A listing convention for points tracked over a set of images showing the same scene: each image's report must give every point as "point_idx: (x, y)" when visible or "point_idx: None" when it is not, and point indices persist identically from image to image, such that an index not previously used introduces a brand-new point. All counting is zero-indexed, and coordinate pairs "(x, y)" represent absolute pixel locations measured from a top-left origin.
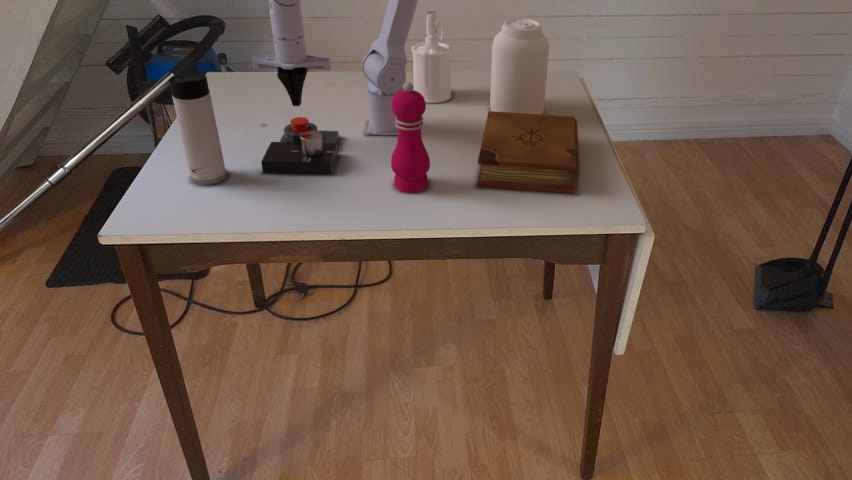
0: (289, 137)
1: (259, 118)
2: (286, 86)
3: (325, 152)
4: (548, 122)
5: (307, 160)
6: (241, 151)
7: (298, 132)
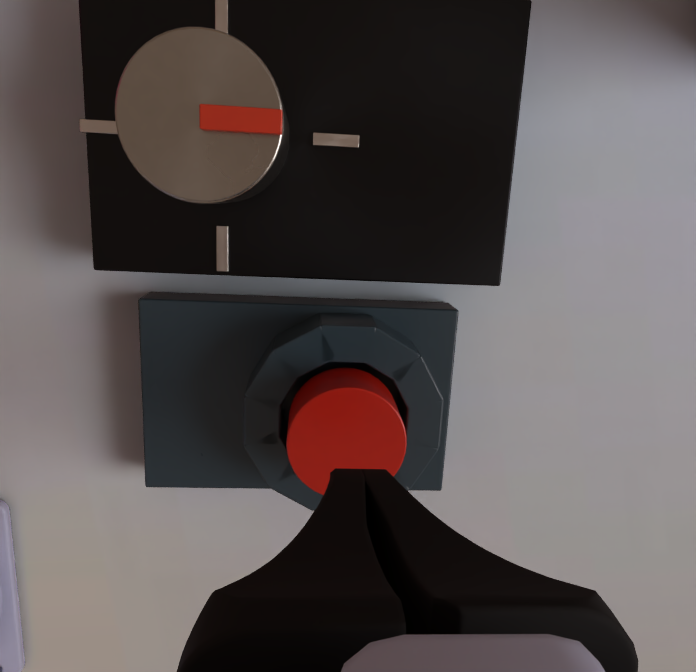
0: (399, 338)
1: None
2: (460, 550)
3: None
4: None
5: (237, 7)
6: (641, 299)
7: (348, 370)
